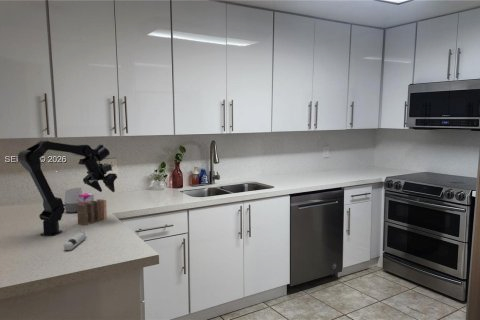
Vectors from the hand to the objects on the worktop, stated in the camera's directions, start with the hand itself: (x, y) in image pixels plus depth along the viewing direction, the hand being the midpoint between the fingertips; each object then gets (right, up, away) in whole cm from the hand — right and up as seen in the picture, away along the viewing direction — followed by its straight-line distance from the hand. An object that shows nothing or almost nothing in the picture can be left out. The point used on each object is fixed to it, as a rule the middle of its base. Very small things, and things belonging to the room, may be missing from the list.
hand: (107, 191), depth 186 cm
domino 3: (-6, -15, -1) cm, 16 cm away
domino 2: (-7, -15, -4) cm, 17 cm away
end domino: (-4, -14, +3) cm, 15 cm away
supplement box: (-15, -14, +11) cm, 23 cm away
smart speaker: (-25, -13, +18) cm, 33 cm away
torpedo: (+1, -19, -37) cm, 42 cm away
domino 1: (-9, -15, -8) cm, 20 cm away
